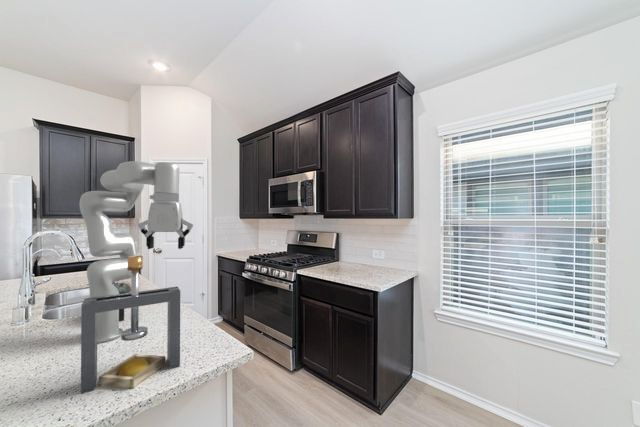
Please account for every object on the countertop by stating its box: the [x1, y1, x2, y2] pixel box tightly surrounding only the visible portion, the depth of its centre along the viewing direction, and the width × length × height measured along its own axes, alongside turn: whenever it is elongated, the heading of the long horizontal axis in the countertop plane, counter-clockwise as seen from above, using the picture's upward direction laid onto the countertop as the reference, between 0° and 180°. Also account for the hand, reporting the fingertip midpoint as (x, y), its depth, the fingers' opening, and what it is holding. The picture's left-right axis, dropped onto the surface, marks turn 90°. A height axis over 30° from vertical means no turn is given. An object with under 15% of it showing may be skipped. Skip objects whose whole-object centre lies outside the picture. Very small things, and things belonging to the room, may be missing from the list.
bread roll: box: [118, 358, 150, 377], centre depth 87 cm, size 8×9×4 cm
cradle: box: [98, 353, 166, 389], centre depth 87 cm, size 11×13×2 cm
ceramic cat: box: [112, 281, 127, 322], centre depth 135 cm, size 20×6×20 cm, turn 48°
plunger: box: [120, 255, 149, 342], centre depth 87 cm, size 7×7×25 cm
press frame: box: [80, 286, 181, 395], centre depth 87 cm, size 7×25×25 cm, turn 125°
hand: (165, 248), depth 95 cm, fingers open, 9 cm apart
